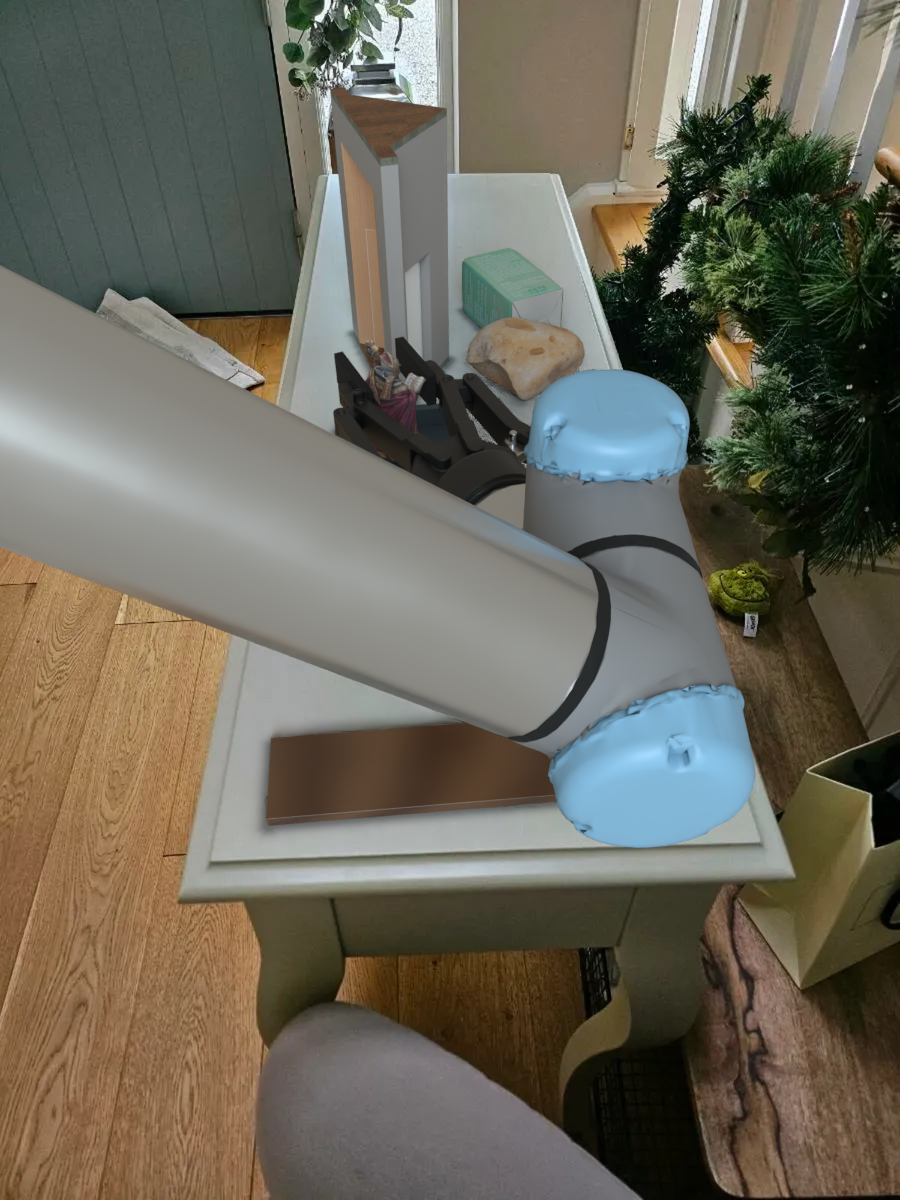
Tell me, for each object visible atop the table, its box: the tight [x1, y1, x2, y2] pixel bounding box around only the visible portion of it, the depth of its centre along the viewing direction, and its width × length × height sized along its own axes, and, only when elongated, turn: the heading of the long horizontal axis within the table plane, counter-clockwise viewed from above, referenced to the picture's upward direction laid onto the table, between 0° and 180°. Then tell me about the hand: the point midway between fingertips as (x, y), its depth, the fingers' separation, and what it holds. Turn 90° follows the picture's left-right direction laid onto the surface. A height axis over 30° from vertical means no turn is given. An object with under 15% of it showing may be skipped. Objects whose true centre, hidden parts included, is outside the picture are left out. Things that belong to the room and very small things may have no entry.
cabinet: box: [329, 86, 450, 382], centre depth 94 cm, size 21×10×28 cm, turn 18°
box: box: [461, 247, 564, 330], centre depth 108 cm, size 7×14×8 cm, turn 26°
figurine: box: [365, 340, 426, 470], centre depth 69 cm, size 6×6×12 cm
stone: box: [466, 317, 586, 401], centre depth 100 cm, size 14×11×8 cm
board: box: [265, 722, 557, 827], centre depth 64 cm, size 22×7×1 cm, turn 95°
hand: (370, 359), depth 72 cm, fingers closed on figurine, 5 cm apart
